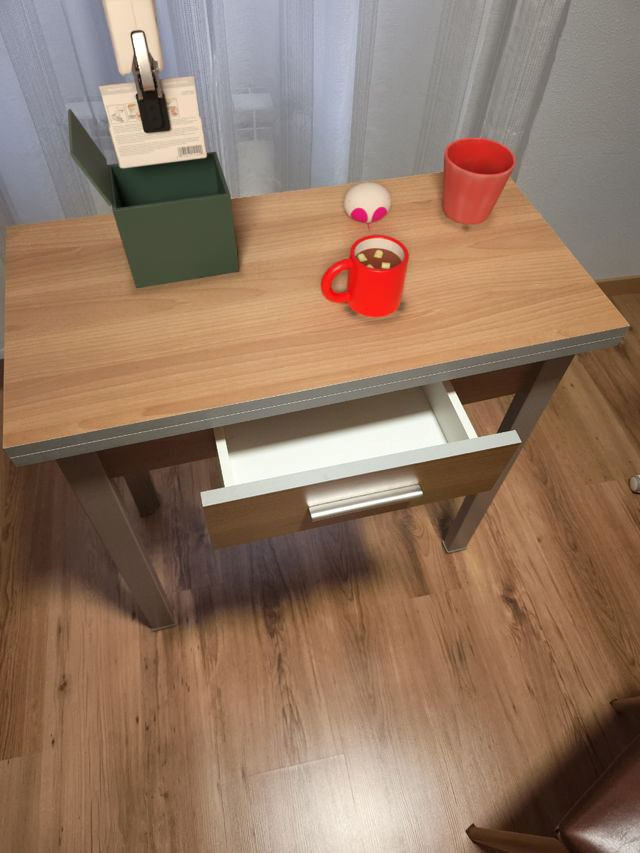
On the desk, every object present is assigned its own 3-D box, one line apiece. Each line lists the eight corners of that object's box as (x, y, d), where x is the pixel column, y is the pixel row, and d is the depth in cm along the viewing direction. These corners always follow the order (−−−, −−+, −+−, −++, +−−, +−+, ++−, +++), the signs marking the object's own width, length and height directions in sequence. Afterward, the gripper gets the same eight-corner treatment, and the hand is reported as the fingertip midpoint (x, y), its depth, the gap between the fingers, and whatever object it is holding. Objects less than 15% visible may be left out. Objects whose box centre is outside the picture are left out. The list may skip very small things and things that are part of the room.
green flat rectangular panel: (112, 205, 71) (109, 206, 71) (106, 159, 77) (104, 160, 77) (73, 153, 65) (70, 155, 65) (70, 108, 71) (67, 110, 71)
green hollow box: (136, 288, 81) (112, 210, 71) (129, 242, 88) (106, 164, 77) (239, 271, 84) (230, 194, 74) (225, 228, 90) (216, 151, 80)
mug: (311, 292, 82) (312, 246, 75) (387, 275, 84) (394, 229, 78) (330, 329, 78) (333, 283, 71) (409, 309, 80) (419, 264, 74)
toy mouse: (344, 243, 94) (347, 228, 87) (340, 195, 94) (343, 177, 87) (389, 240, 94) (396, 225, 88) (386, 192, 94) (392, 174, 88)
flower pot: (457, 238, 90) (472, 181, 82) (421, 201, 96) (432, 144, 88) (511, 222, 93) (530, 165, 85) (473, 187, 99) (488, 131, 91)
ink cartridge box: (118, 161, 73) (96, 77, 65) (204, 150, 75) (192, 67, 67) (120, 170, 71) (97, 85, 64) (207, 159, 73) (195, 75, 66)
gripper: (73, -90, 59) (119, 97, 74) (79, -39, 50) (130, 162, 65) (146, -93, 60) (177, 91, 75) (165, -44, 51) (196, 154, 66)
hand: (155, 123), depth 70 cm, fingers closed on ink cartridge box, 2 cm apart
